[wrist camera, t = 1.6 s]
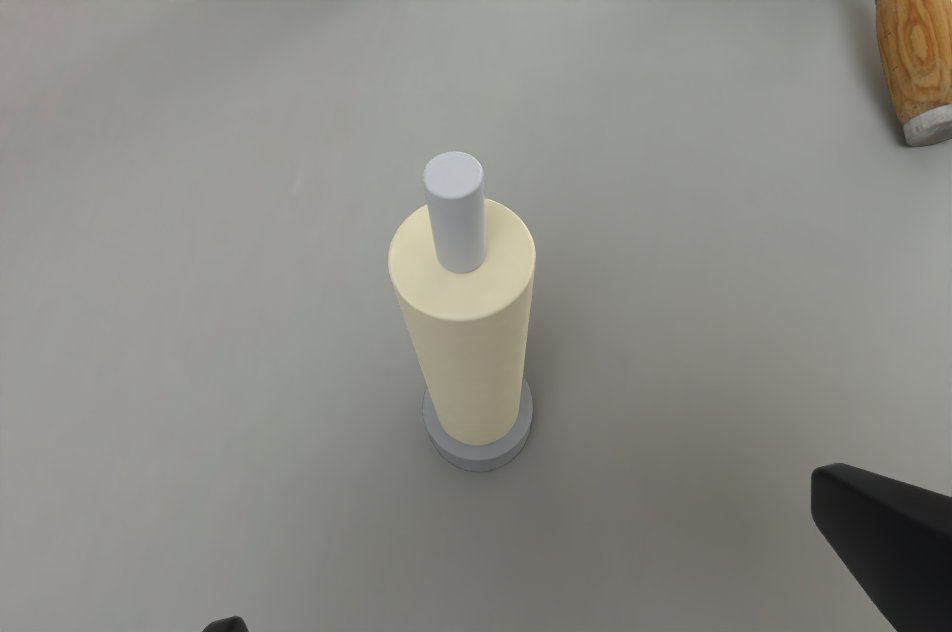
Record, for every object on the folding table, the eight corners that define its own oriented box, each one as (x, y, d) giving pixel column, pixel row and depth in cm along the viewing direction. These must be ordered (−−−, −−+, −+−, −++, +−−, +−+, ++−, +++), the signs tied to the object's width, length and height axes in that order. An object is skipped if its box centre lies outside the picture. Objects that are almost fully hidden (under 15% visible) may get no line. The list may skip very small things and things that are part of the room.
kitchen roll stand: (544, 454, 21) (615, 238, 8) (443, 485, 21) (355, 310, 8) (511, 360, 23) (528, 64, 10) (417, 388, 23) (313, 116, 10)
